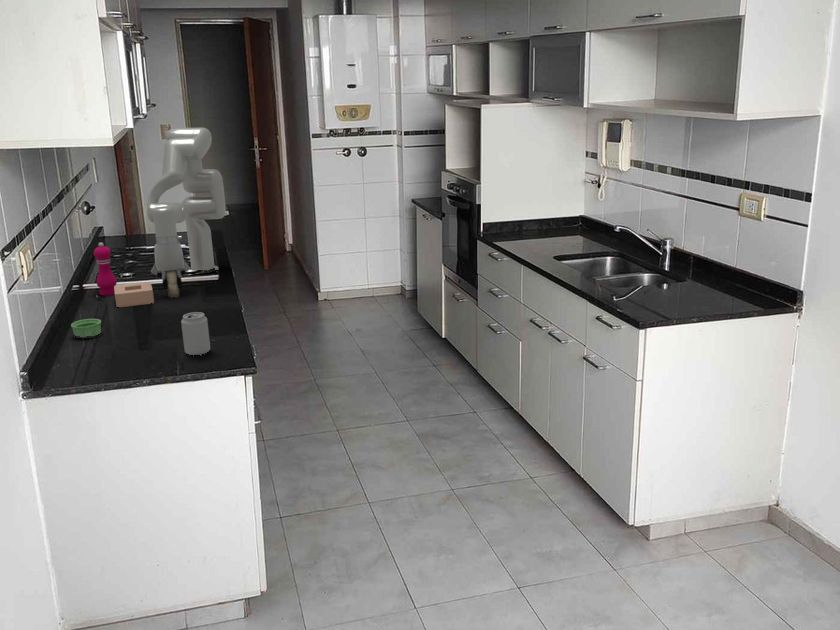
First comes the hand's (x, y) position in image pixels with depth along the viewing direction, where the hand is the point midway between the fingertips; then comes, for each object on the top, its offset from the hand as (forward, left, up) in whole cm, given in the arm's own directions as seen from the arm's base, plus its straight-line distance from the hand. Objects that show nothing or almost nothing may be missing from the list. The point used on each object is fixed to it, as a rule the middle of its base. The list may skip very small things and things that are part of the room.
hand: (172, 287), depth 301 cm
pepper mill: (-16, -23, -3) cm, 28 cm away
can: (+69, +1, -3) cm, 69 cm away
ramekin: (+36, -30, -4) cm, 47 cm away
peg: (0, 0, -3) cm, 3 cm away
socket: (0, -14, -3) cm, 14 cm away
